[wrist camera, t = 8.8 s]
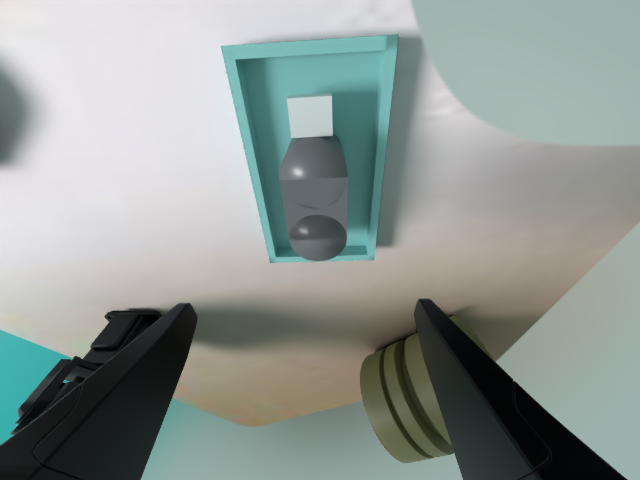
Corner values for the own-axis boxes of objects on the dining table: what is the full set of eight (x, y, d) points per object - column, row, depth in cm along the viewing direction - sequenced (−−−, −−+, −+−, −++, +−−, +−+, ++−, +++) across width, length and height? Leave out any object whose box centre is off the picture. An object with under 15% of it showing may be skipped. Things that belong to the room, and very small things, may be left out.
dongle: (343, 229, 21) (346, 260, 18) (297, 231, 21) (292, 261, 18) (344, 89, 15) (349, 98, 12) (279, 93, 15) (267, 103, 12)
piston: (483, 339, 32) (546, 451, 23) (405, 370, 37) (431, 471, 28) (436, 298, 27) (492, 419, 18) (355, 341, 33) (367, 450, 24)
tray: (371, 247, 23) (374, 259, 22) (273, 249, 23) (270, 262, 22) (390, 36, 14) (398, 34, 12) (231, 47, 14) (220, 46, 13)
